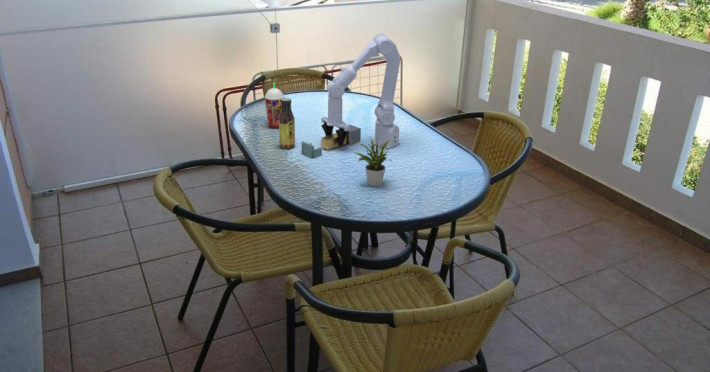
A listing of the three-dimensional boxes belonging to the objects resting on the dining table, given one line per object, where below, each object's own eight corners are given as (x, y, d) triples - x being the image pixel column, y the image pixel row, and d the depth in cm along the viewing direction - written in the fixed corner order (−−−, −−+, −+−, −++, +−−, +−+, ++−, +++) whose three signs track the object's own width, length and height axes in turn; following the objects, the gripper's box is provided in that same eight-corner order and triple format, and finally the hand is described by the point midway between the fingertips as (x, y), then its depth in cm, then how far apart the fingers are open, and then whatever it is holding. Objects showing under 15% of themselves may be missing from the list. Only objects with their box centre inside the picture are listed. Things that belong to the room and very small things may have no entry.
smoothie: (283, 129, 260) (282, 85, 251) (264, 129, 260) (262, 84, 251) (286, 123, 267) (284, 79, 258) (267, 122, 267) (265, 79, 259)
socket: (310, 150, 239) (310, 138, 237) (321, 155, 235) (321, 143, 232) (301, 153, 236) (301, 141, 234) (312, 158, 232) (312, 146, 229)
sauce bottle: (292, 150, 239) (291, 102, 230) (277, 148, 240) (275, 101, 231) (297, 144, 244) (296, 97, 236) (282, 143, 245) (280, 96, 237)
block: (349, 137, 251) (349, 128, 249) (356, 139, 248) (356, 130, 246) (321, 146, 240) (321, 137, 239) (328, 149, 238) (328, 140, 236)
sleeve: (349, 137, 253) (350, 124, 250) (360, 141, 248) (360, 128, 246) (338, 141, 248) (338, 128, 246) (349, 145, 244) (349, 132, 242)
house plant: (372, 170, 222) (374, 129, 215) (403, 180, 214) (405, 138, 207) (348, 182, 212) (348, 139, 205) (379, 193, 204) (380, 149, 197)
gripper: (315, 109, 239) (315, 140, 245) (340, 117, 230) (340, 150, 235) (328, 105, 243) (328, 136, 249) (353, 113, 234) (352, 146, 240)
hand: (335, 143), depth 243 cm, fingers open, 6 cm apart
